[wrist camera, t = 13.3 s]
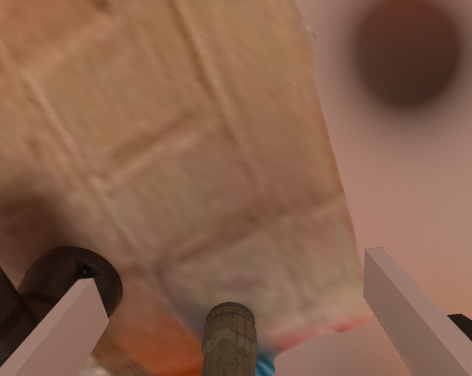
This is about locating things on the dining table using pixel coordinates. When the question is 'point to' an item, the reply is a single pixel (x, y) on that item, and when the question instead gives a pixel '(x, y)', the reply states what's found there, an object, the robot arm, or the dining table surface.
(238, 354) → the olive green segmented column
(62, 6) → the dining table surface
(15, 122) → the dining table surface
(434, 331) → the robot arm
